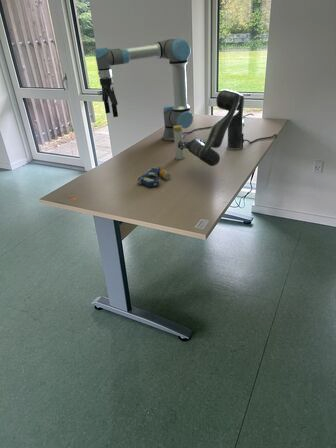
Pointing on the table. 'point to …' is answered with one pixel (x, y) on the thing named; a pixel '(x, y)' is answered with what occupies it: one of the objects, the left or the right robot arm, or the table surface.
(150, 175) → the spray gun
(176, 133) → the white cylinder
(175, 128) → the lid
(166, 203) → the table surface
